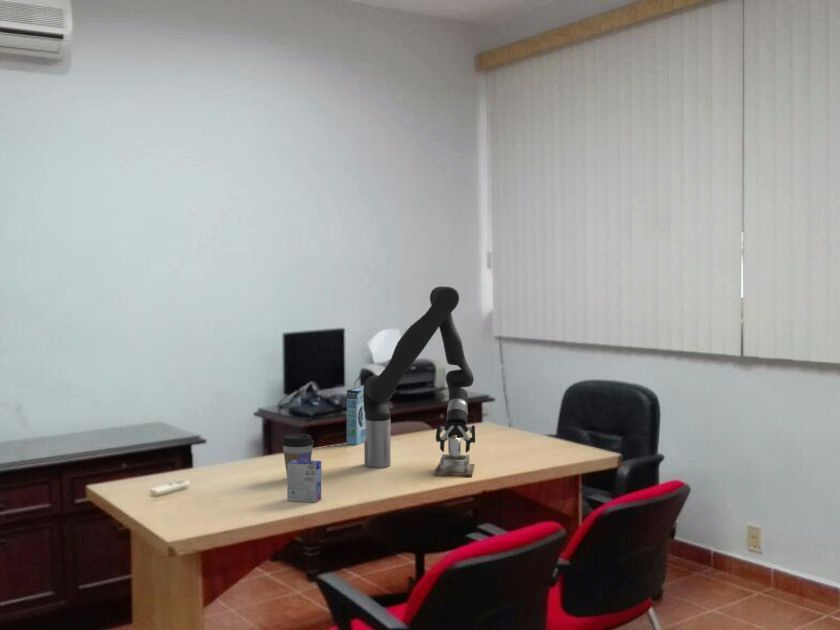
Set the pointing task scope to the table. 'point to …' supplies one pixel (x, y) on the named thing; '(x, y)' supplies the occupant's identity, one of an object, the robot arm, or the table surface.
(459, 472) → the cell holder
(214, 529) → the table surface
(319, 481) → the ink cartridge box
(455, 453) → the battery cell
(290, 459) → the coffee cup
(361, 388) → the light blue carton
